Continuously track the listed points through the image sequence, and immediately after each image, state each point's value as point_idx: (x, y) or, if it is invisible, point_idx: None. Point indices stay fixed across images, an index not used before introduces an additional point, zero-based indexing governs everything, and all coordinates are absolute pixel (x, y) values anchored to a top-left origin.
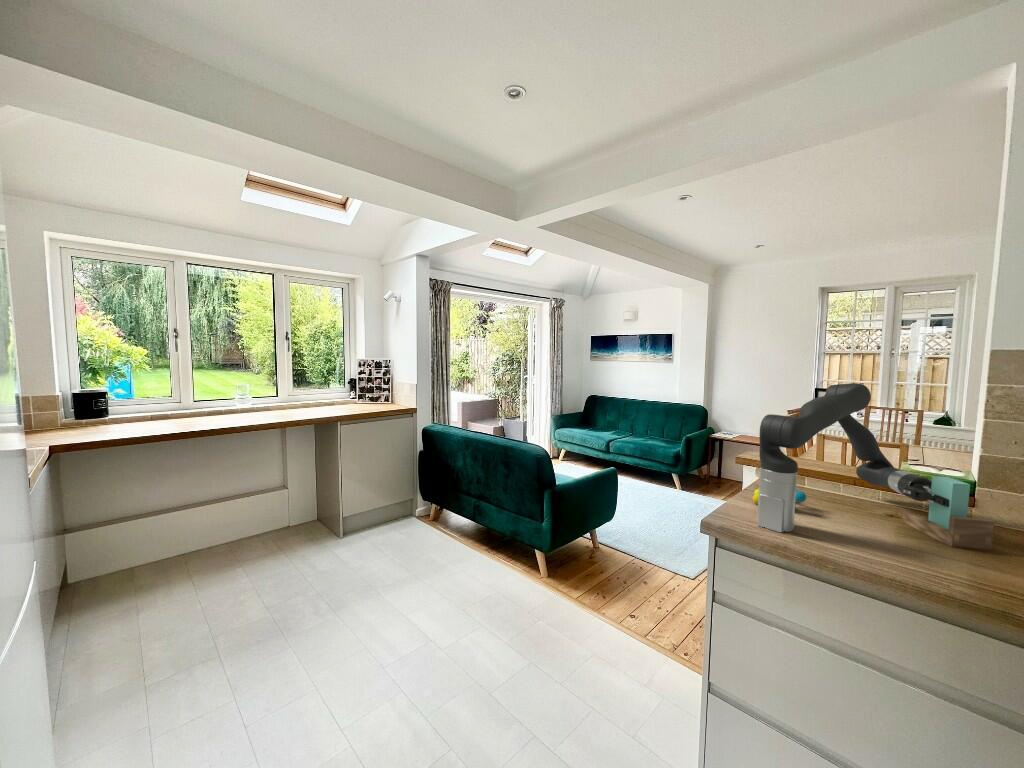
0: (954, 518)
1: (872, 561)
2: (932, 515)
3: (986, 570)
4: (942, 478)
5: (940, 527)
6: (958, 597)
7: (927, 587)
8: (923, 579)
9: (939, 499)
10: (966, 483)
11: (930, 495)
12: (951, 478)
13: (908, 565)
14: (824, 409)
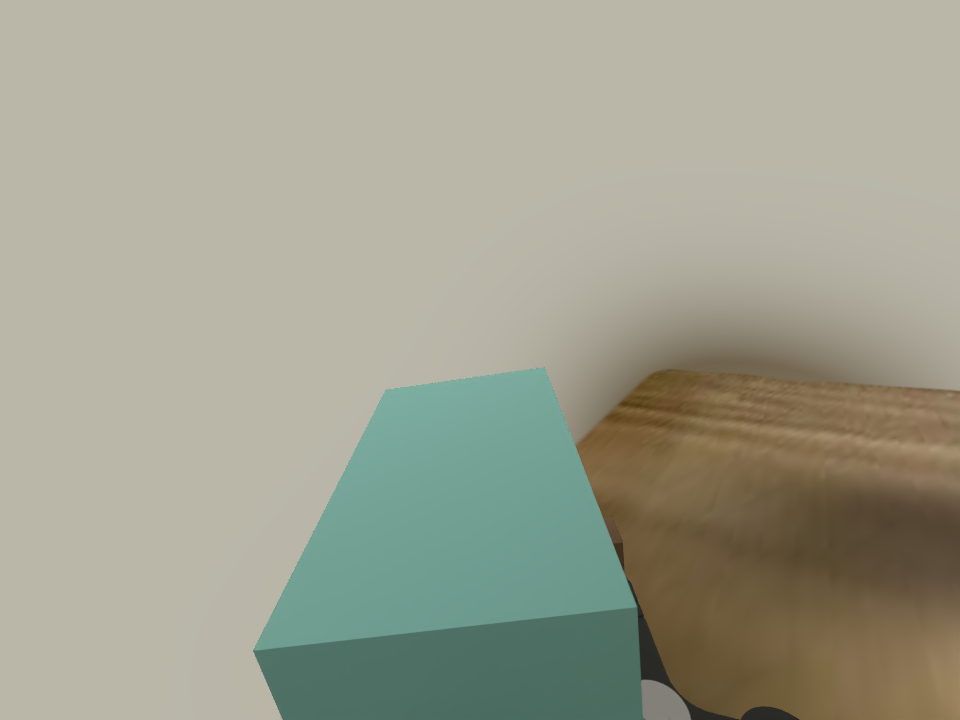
0: (610, 517)
1: (944, 432)
2: None
3: (602, 485)
4: (520, 493)
5: None
6: (733, 375)
7: (788, 382)
8: (794, 401)
9: (635, 596)
10: (389, 401)
11: (697, 716)
12: (321, 551)
13: (833, 444)
14: None
